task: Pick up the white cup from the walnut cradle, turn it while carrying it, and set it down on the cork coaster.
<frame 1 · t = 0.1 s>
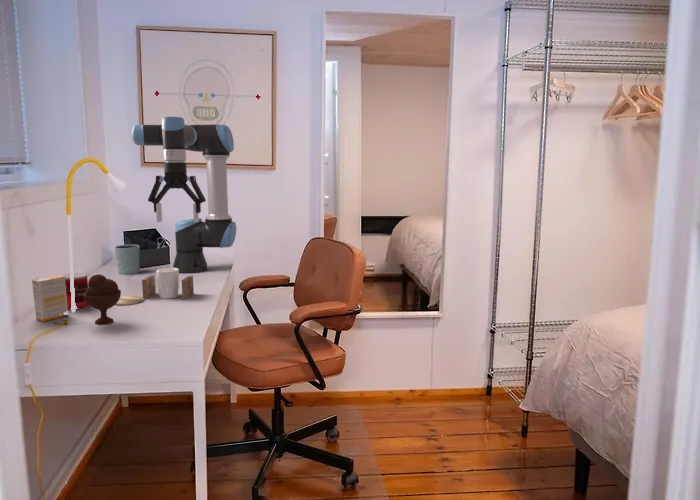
hand: (177, 222, 197), 28 cm above the table, tool pointing down, fingers open, 13 cm apart
ice cream bowl: (104, 322, 171), on the table
white cup: (168, 296, 203), on the table
canned food: (76, 307, 188), on the table
supplement box: (52, 318, 176), on the table
cork coaster: (127, 301, 196), on the table
grey green cup 2: (129, 273, 244), on the table
walnut cradle: (168, 296, 203), on the table
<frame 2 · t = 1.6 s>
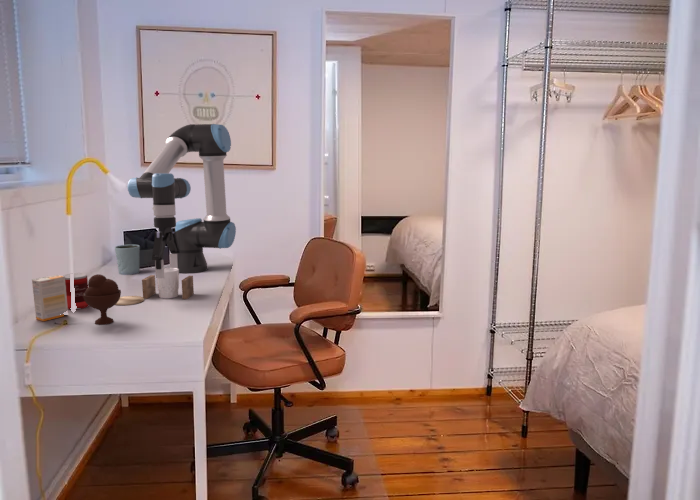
hand: (167, 274, 201), 8 cm above the table, tool pointing down, fingers open, 13 cm apart
nothing on the table moved.
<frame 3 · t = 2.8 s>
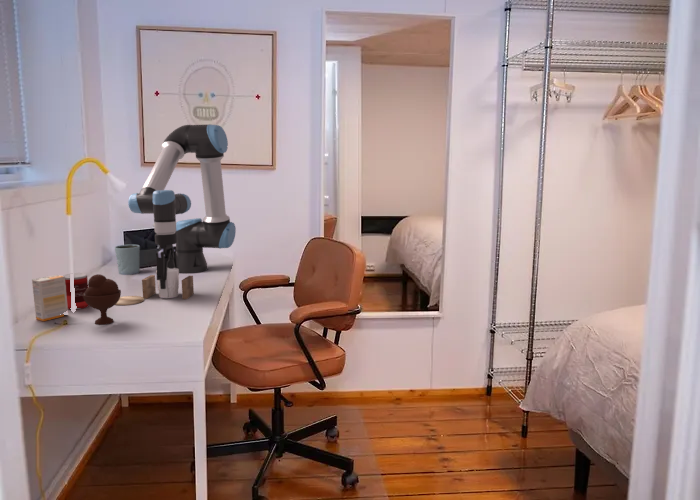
hand: (168, 294, 203), 1 cm above the table, tool pointing down, fingers closed on white cup, 7 cm apart
white cup: (168, 296, 203), on the table, touching gripper
everything else where it was.
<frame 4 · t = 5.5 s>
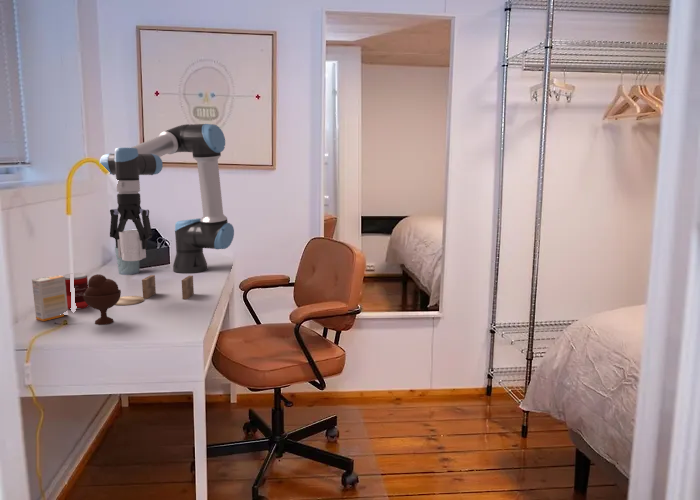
hand: (132, 257, 194), 16 cm above the table, tool pointing down, fingers closed on white cup, 7 cm apart
white cup: (132, 260, 194), point 15 cm above the table, touching gripper
everything else where it was.
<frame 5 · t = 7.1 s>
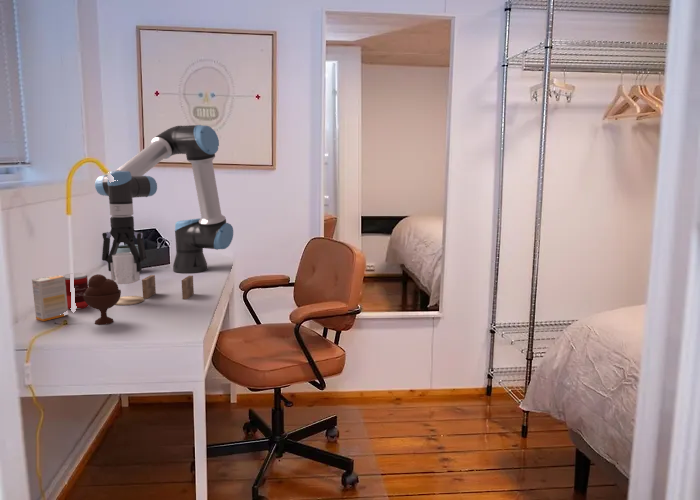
hand: (125, 280, 194), 8 cm above the table, tool pointing down, fingers closed on white cup, 7 cm apart
white cup: (125, 282, 194), point 7 cm above the table, touching gripper
everything else where it was.
when the fingers open (3 cm above the table, at t = 8.4 s): white cup drops 1 cm, resting on cork coaster.
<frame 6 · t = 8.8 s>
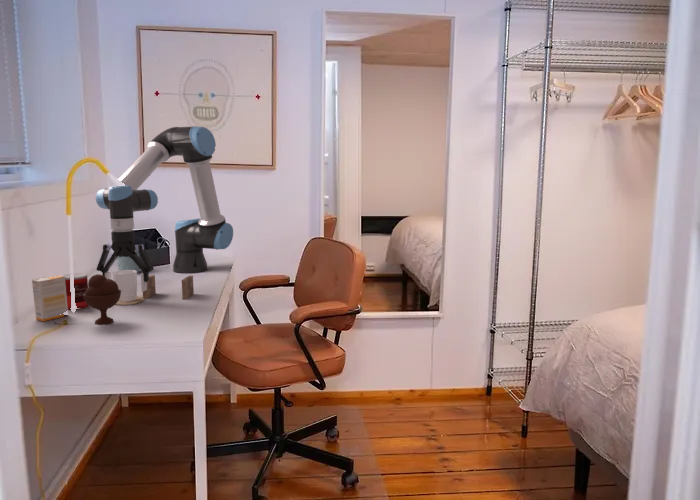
hand: (126, 290, 195), 4 cm above the table, tool pointing down, fingers open, 12 cm apart
white cup: (126, 300, 196), resting on cork coaster
everything else where it was.
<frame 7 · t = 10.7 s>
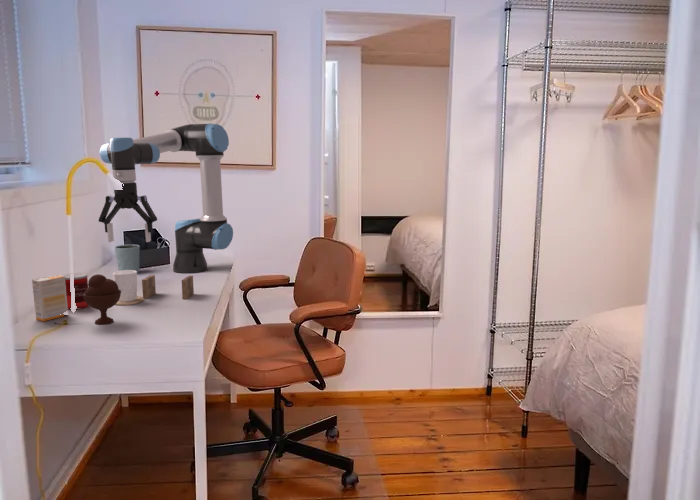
hand: (129, 241, 198), 21 cm above the table, tool pointing down, fingers open, 13 cm apart
nothing on the table moved.
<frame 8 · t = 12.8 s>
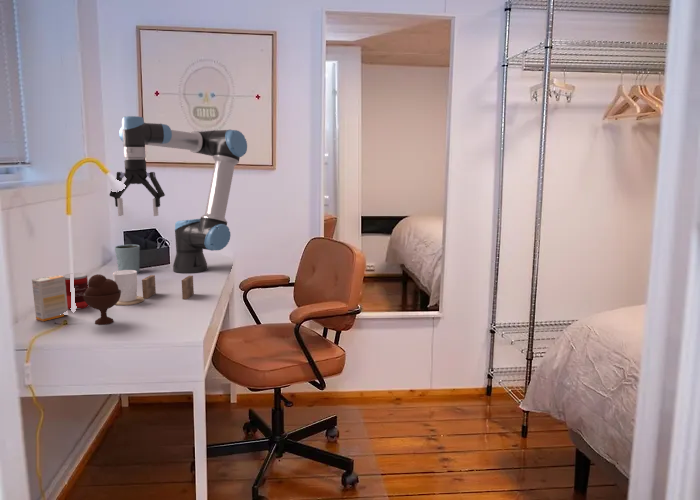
hand: (138, 215, 209), 29 cm above the table, tool pointing down, fingers open, 13 cm apart
nothing on the table moved.
at the end: white cup 0.2 cm from the cork coaster (horizontally); white cup tilted 0°; white cup on the table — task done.
